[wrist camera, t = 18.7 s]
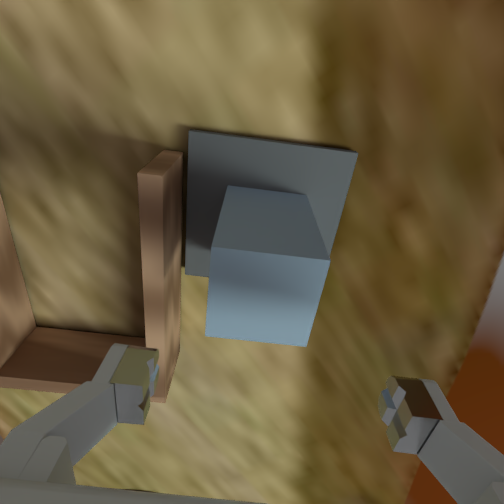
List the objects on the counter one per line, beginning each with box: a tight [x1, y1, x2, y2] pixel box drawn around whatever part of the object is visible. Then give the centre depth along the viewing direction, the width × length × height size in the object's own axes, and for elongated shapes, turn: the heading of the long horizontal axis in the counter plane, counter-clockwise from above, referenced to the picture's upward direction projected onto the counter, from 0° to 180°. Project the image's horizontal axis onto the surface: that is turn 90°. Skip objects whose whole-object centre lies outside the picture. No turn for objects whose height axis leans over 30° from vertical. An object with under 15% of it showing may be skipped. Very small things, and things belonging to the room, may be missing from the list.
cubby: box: [0, 150, 183, 403], centre depth 22 cm, size 17×13×5 cm
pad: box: [185, 129, 358, 277], centre depth 22 cm, size 10×10×1 cm
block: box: [205, 185, 331, 347], centre depth 18 cm, size 5×5×8 cm
